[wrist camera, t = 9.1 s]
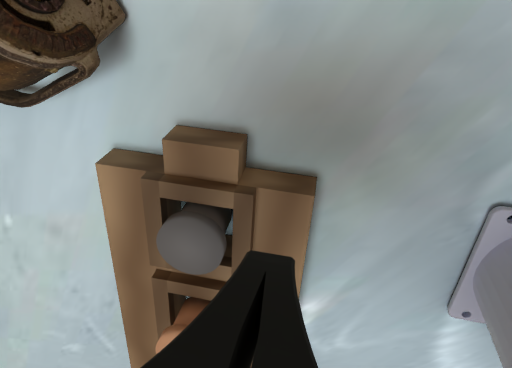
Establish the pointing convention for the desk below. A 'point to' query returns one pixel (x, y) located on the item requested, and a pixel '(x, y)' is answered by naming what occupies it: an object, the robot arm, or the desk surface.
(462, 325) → the desk surface
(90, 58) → the brown watering can
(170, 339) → the terracotta plug
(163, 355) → the robot arm
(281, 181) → the walnut test board
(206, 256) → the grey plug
